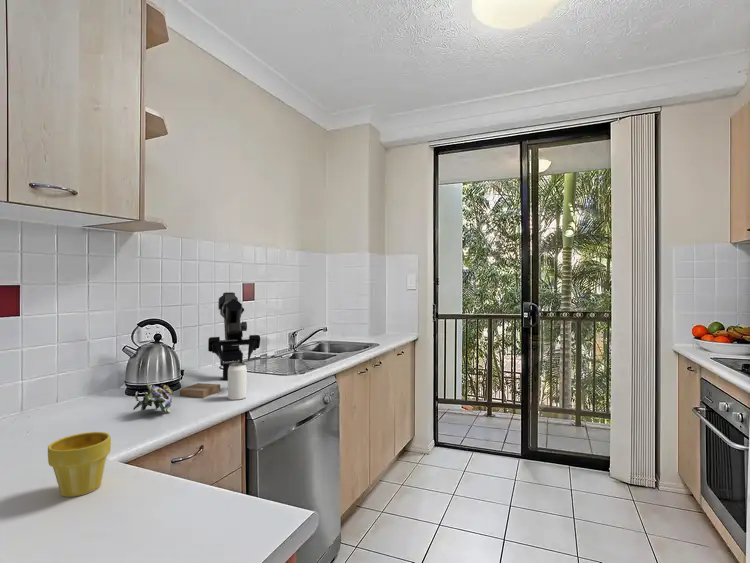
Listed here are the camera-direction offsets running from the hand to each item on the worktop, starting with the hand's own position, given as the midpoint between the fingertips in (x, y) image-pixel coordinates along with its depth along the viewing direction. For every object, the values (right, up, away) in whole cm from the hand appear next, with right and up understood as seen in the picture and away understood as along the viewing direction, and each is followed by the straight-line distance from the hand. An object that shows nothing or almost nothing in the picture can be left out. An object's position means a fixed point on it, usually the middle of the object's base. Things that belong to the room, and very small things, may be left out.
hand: (235, 361), depth 159 cm
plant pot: (-7, -12, -73) cm, 75 cm away
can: (+2, -12, -6) cm, 14 cm away
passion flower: (-18, -13, -24) cm, 32 cm away
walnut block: (-13, -13, +1) cm, 19 cm away
